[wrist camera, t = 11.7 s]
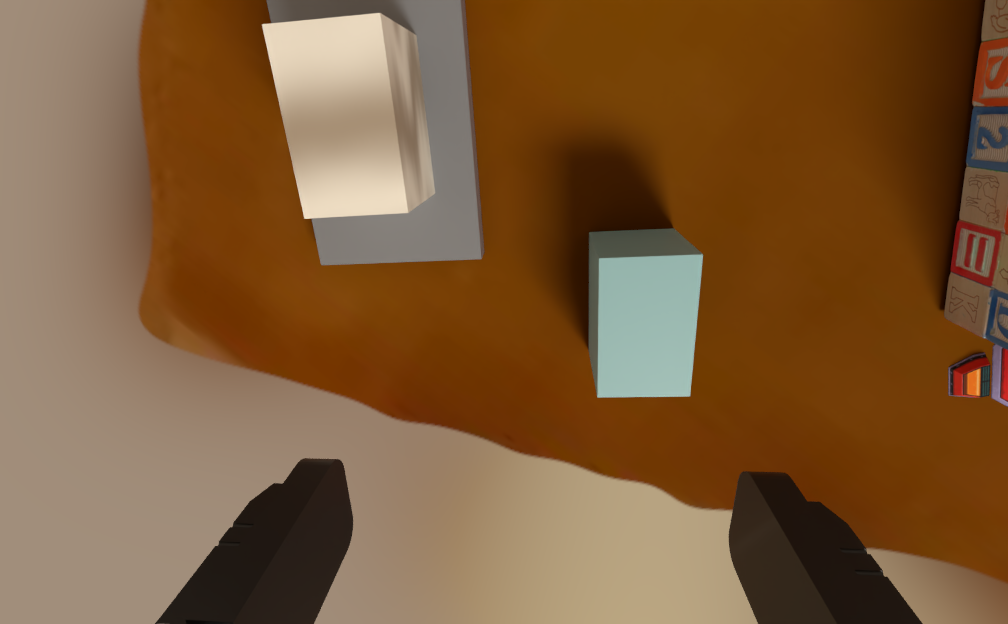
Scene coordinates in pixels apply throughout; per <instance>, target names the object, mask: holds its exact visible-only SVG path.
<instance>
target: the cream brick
mask: <svg viewBox="0 0 1008 624" xmlns="http://www.w3.org/2000/svg"><path fill="white" fill-rule="evenodd" d="M262 27H263V32H264V36H265V41H266V45H267V50H268V55H269V59H270V64H271V68H272V73H273V77H274V82H275V86H276V91H277V96H278V100H279V105H280V109H281V114H282V118H283V123H284V127H285V132H286V137H287V141H288V146H289V150H290V155H291V159H292V164H293V169H294V173H295V178H296V182H297V187H298V191H299V196H300V200H301V205H302V210H303V214H304V219H310V218H328V217H345V216H363V215H381V214H399V213H409V212H410V211H412V210H413V209H414V208H416V207H417V206H419V205H420V204H421V203H423V202H424V201H426V200H427V199H428V198H430V197H431V196H432V195H434V194H435V187H434V179H433V171H432V162H431V154H430V145H429V137H428V128H427V120H426V112H425V103H424V95H423V86H422V78H421V69H420V61H419V53H418V44H417V36H416V35H415V34H414V33H412V32H410V31H409V30H407V29H405V28H404V27H402V26H401V25H399V24H397V23H396V22H394V21H393V20H391V19H389V18H388V17H386V16H384V15H383V14H381V13H373V14H363V15H353V16H342V17H332V18H322V19H312V20H301V21H291V22H281V23H271V24H262Z"/></svg>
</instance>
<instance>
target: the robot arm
mask: <svg viewBox="0 0 1008 624" xmlns="http://www.w3.org/2000/svg"><path fill="white" fill-rule="evenodd" d="M352 530H353V515H352V509H351V504H350V499H349V492H348V487H347V481H346V476H345V470H344V466H343V463H342V462H341V461H340V460H338V459H307V458H305V459H302V460H300V461H299V462H298V464H297V465H296V466H295V468H294V469H293V470H292V472H291V473H290V475H289V476H288V477H287V479H286V480H285V481H284V483H283V484H277V483H276V484H275V483H274V484H272V485H271V486H270V487H268V488H267V489H266V490H264V491H263V492H262V493H261V494H259V495H258V496H257V497H255V498H254V499H253V500H251V501H250V502H249V503H248V505H247V506H246V507H245V509H244V510H243V511H242V512H241V514H240V515H239V516H238V518H237V519H236V520H235V521H234V523H233V527H230V528H229V529H228V531H227V532H226V533H225V534H224V536H223V537H222V538H221V540H220V541H219V545H218V546H215V547H214V549H213V550H212V551H211V552H210V554H209V555H208V556H207V558H206V559H205V560H204V561H203V563H202V564H201V566H200V567H199V568H198V569H197V571H196V572H195V573H194V574H193V576H192V577H191V578H190V580H189V581H188V582H187V584H186V585H185V586H184V587H183V589H182V590H181V591H180V593H179V594H178V595H177V597H176V598H175V599H174V600H173V602H172V603H171V604H170V605H169V607H168V608H167V609H166V611H165V612H164V613H163V615H162V616H161V617H160V618H159V620H158V621H157V622H156V623H155V624H314V622H315V620H316V618H317V616H318V613H319V611H320V609H321V607H322V605H323V602H324V600H325V598H326V596H327V594H328V592H329V589H330V587H331V585H332V583H333V581H334V578H335V576H336V574H337V572H338V570H339V568H340V565H341V563H342V561H343V559H344V557H345V554H346V552H347V550H348V548H349V545H350V541H351V537H352ZM729 547H730V553H731V558H732V562H733V565H734V568H735V570H736V573H737V575H738V577H739V580H740V582H741V584H742V587H743V589H744V591H745V594H746V596H747V598H748V601H749V603H750V605H751V608H752V610H753V613H754V615H755V617H756V619H757V622H758V624H922V622H921V621H920V620H919V618H918V617H917V616H916V615H915V613H914V612H913V610H912V609H911V608H910V607H909V605H908V604H907V602H906V601H905V600H904V598H903V597H902V596H901V594H900V593H899V592H898V590H897V589H896V588H895V587H894V585H893V584H892V583H891V581H890V580H889V579H888V577H884V575H883V571H882V569H881V568H880V567H879V565H878V564H877V563H876V561H875V560H874V559H873V557H872V556H871V555H870V554H867V552H866V548H865V547H864V545H863V544H862V543H861V541H860V540H859V539H858V537H857V536H856V535H855V533H854V532H853V531H852V529H851V528H850V527H849V525H848V524H847V523H846V522H845V521H843V520H842V519H841V518H839V517H838V516H837V515H836V514H834V513H833V512H832V511H830V510H829V509H828V508H827V507H825V506H824V505H823V504H822V503H820V502H807V501H806V499H805V498H804V496H803V495H802V493H801V492H800V490H799V489H798V487H797V486H796V485H795V483H794V482H793V480H792V479H791V478H790V476H789V475H787V474H786V473H781V472H742V473H741V475H740V477H739V480H738V485H737V490H736V496H735V501H734V507H733V513H732V519H731V524H730V529H729Z"/></svg>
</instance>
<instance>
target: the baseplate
mask: <svg viewBox="0 0 1008 624" xmlns="http://www.w3.org/2000/svg"><path fill="white" fill-rule="evenodd" d="M267 5H268V10H269V14H270V19H271V23H281V22H291V21H301V20H312V19H322V18H332V17H342V16H353V15H363V14H373V13H381V14H383V15H384V16H386V17H388V18H389V19H391V20H393V21H394V22H396V23H397V24H399V25H401V26H402V27H404V28H405V29H407V30H409V31H410V32H412V33H414V34H415V35H416V36H417V44H418V53H419V61H420V69H421V78H422V86H423V95H424V103H425V112H426V120H427V128H428V137H429V145H430V154H431V162H432V171H433V179H434V187H435V194H434V195H432V196H431V197H430V198H428V199H427V200H426V201H424V202H423V203H421V204H420V205H419V206H417V207H416V208H414V209H413V210H412V211H410V212H409V213H399V214H381V215H363V216H345V217H328V218H312V223H313V228H314V233H315V238H316V242H317V247H318V252H319V257H320V262H321V265H339V264H365V263H391V262H417V261H443V260H469V259H482V257H483V254H484V242H483V230H482V217H481V204H480V191H479V178H478V165H477V153H476V140H475V127H474V114H473V101H472V88H471V76H470V63H469V50H468V37H467V24H466V11H465V0H267Z"/></svg>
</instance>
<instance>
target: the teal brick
mask: <svg viewBox="0 0 1008 624" xmlns="http://www.w3.org/2000/svg"><path fill="white" fill-rule="evenodd" d="M702 260H703V254H702V253H701V252H700V251H699V250H697V249H696V248H695V247H694V246H693V245H692V244H691V243H690V242H688V241H687V240H686V239H685V238H684V237H683V236H682V235H680V234H679V233H678V232H677V231H676V230H675V229H674V228H671V229H648V230H624V231H601V232H589V355H590V360H591V365H592V371H593V376H594V381H595V387H596V392H597V397H674V396H690V391H691V380H692V369H693V358H694V348H695V337H696V326H697V315H698V304H699V293H700V282H701V271H702Z"/></svg>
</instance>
